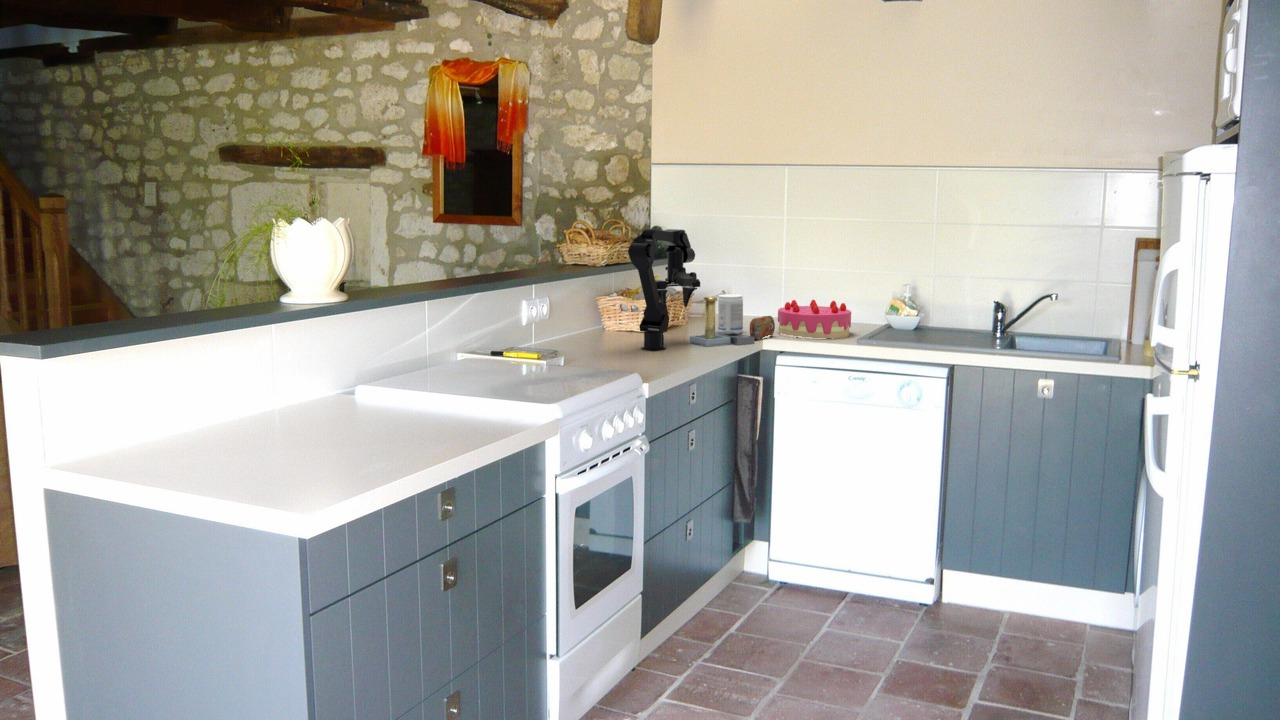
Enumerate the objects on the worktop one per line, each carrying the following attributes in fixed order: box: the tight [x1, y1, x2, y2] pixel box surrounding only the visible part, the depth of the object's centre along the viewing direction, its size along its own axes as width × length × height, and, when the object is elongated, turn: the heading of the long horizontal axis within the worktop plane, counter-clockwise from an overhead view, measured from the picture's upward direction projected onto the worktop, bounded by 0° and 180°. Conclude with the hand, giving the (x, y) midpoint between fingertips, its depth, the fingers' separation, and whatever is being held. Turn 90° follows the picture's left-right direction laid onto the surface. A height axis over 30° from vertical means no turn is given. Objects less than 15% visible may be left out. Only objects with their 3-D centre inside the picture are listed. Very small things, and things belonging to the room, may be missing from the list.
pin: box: [703, 296, 718, 339], centre depth 363 cm, size 5×5×16 cm
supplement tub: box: [717, 293, 744, 334], centre depth 391 cm, size 10×10×15 cm
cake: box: [777, 299, 852, 339], centre depth 388 cm, size 28×28×12 cm
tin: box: [749, 315, 776, 341], centre depth 377 cm, size 15×3×8 cm, turn 143°
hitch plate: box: [715, 331, 756, 346], centre depth 369 cm, size 8×16×2 cm, turn 32°
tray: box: [689, 334, 731, 348], centre depth 364 cm, size 11×11×2 cm
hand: (674, 307), depth 363 cm, fingers open, 9 cm apart
